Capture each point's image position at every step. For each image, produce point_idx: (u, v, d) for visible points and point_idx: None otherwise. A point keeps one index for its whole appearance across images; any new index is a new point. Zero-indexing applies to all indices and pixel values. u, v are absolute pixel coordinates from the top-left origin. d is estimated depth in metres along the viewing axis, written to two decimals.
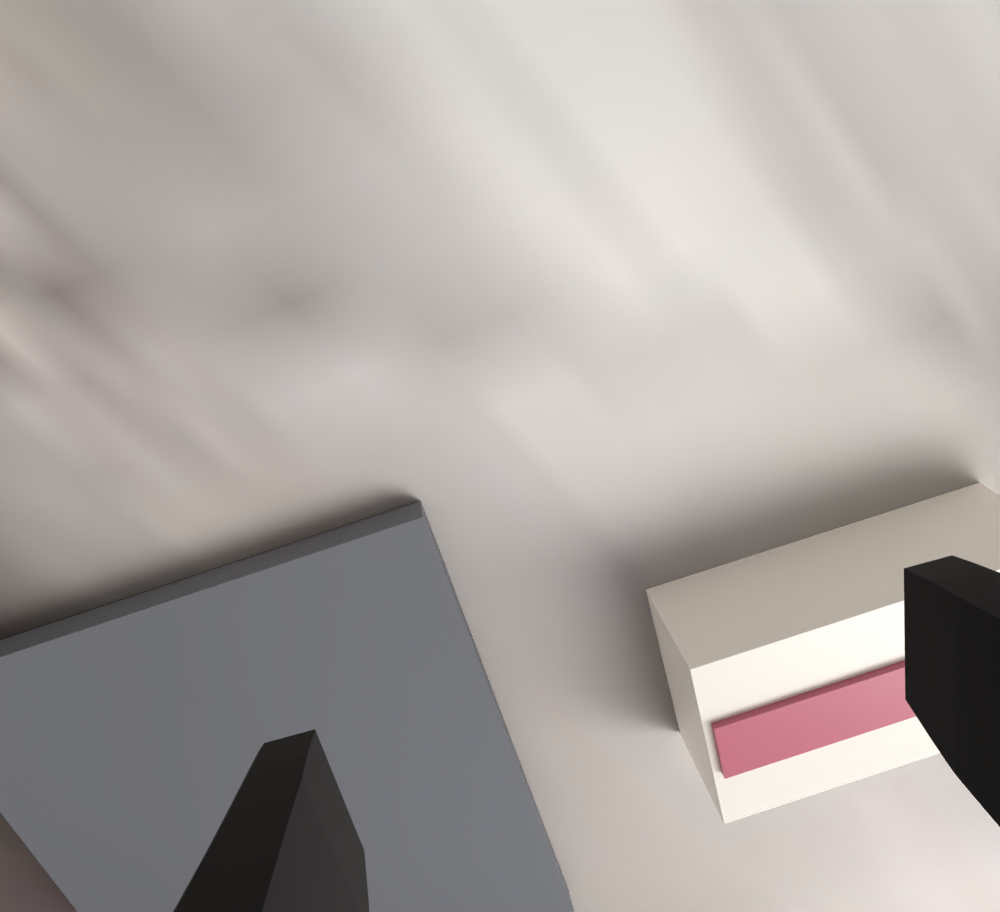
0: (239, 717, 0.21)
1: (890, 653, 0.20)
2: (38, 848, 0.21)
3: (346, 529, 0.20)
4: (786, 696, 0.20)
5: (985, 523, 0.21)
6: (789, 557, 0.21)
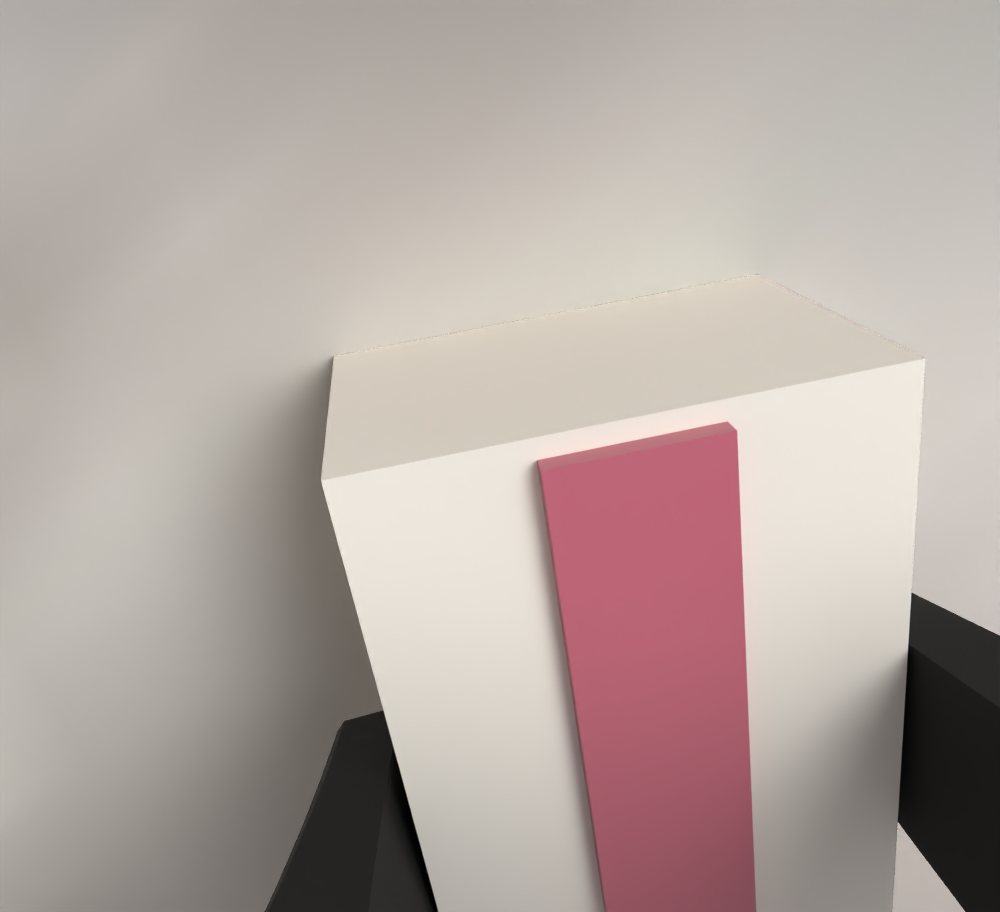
0: None
1: (558, 839, 0.09)
2: None
3: None
4: None
5: None
6: None
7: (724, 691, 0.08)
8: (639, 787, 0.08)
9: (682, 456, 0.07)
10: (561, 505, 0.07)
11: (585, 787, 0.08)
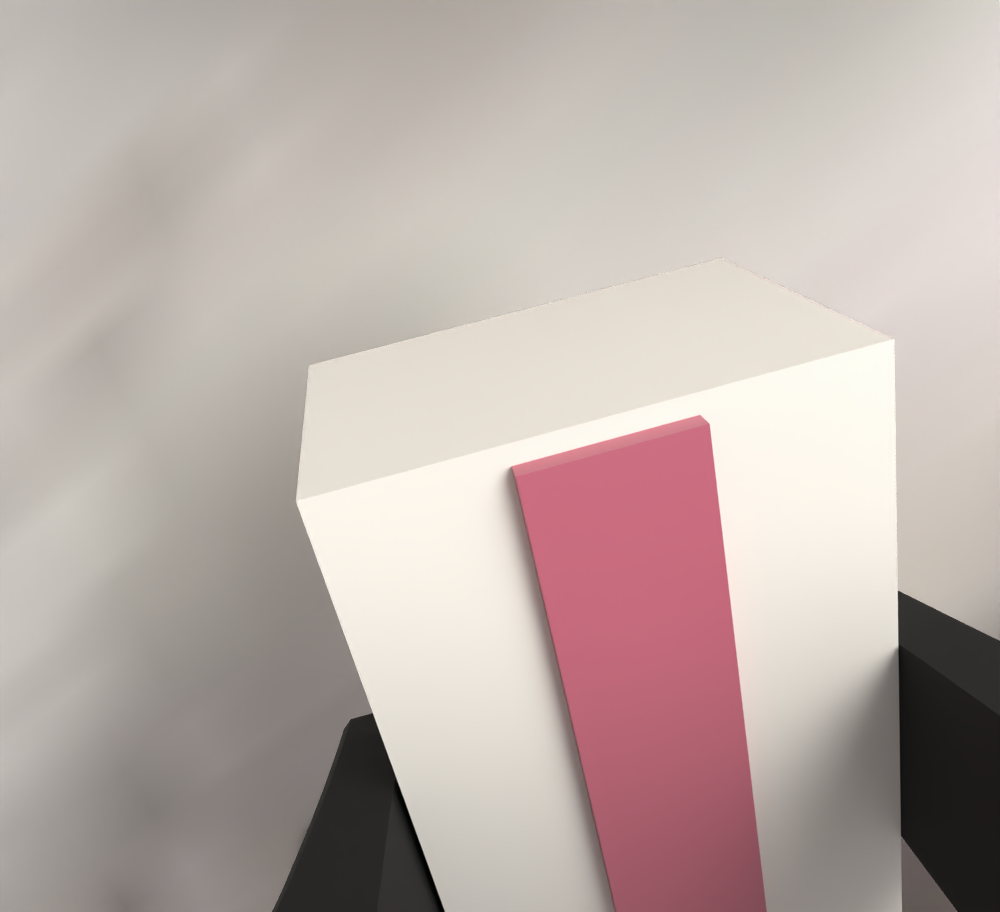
0: None
1: (563, 840, 0.09)
2: None
3: None
4: None
5: None
6: None
7: (716, 682, 0.08)
8: (639, 783, 0.08)
9: (656, 453, 0.07)
10: (539, 509, 0.07)
11: (585, 786, 0.08)
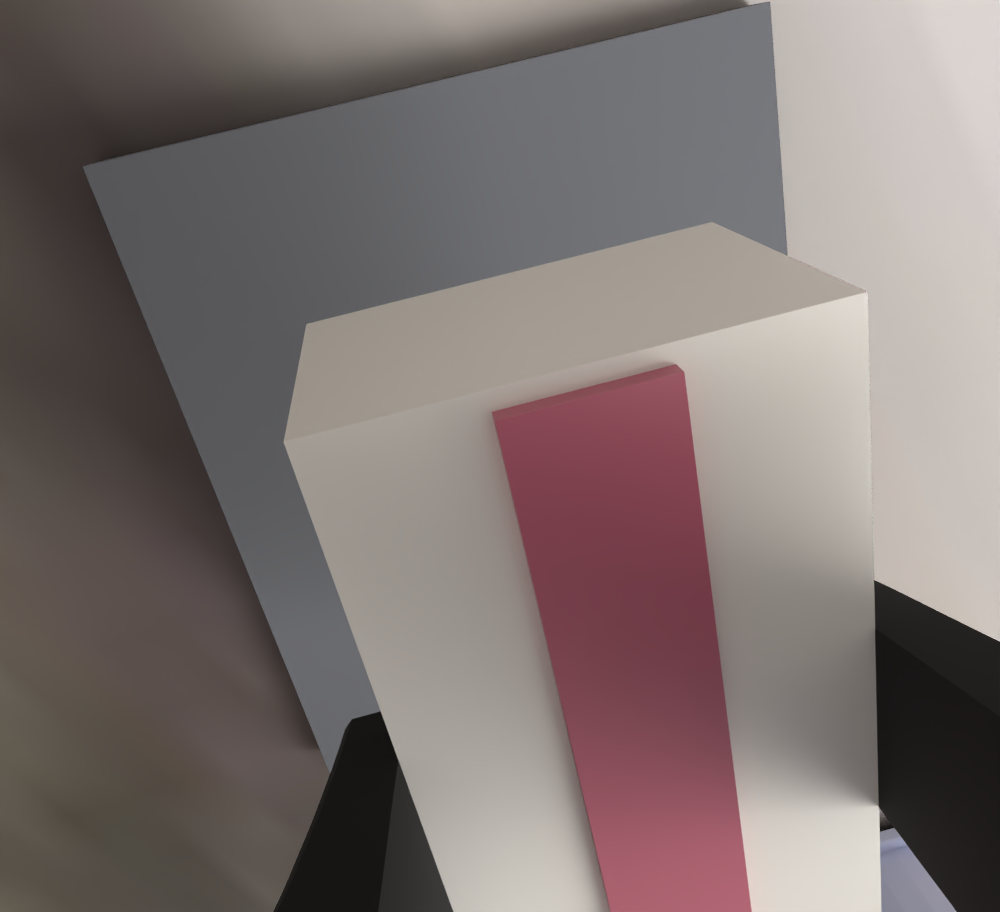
0: None
1: (545, 783, 0.09)
2: (209, 450, 0.17)
3: None
4: None
5: None
6: None
7: (693, 629, 0.08)
8: (618, 727, 0.09)
9: (632, 400, 0.07)
10: (518, 454, 0.07)
11: (566, 730, 0.09)
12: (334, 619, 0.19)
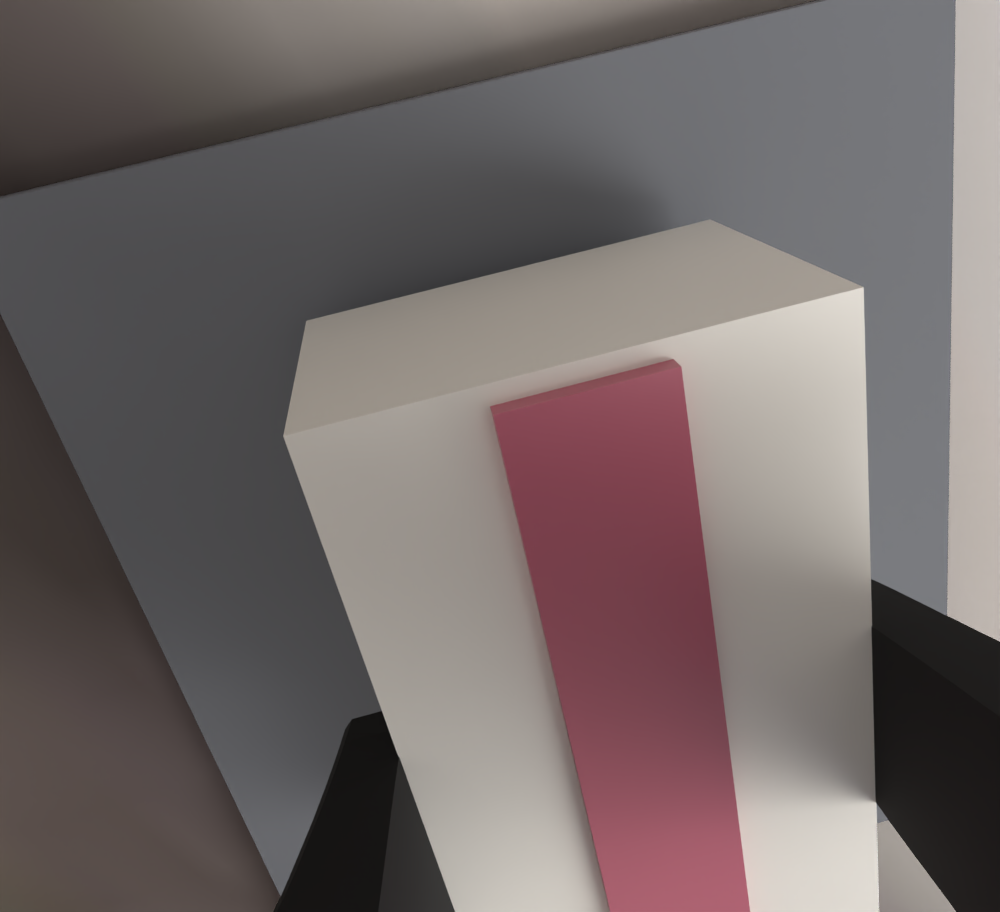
0: None
1: (543, 777, 0.09)
2: (151, 595, 0.12)
3: (791, 6, 0.11)
4: None
5: None
6: None
7: (691, 624, 0.08)
8: (616, 721, 0.09)
9: (630, 394, 0.07)
10: (516, 448, 0.07)
11: (564, 725, 0.09)
12: None
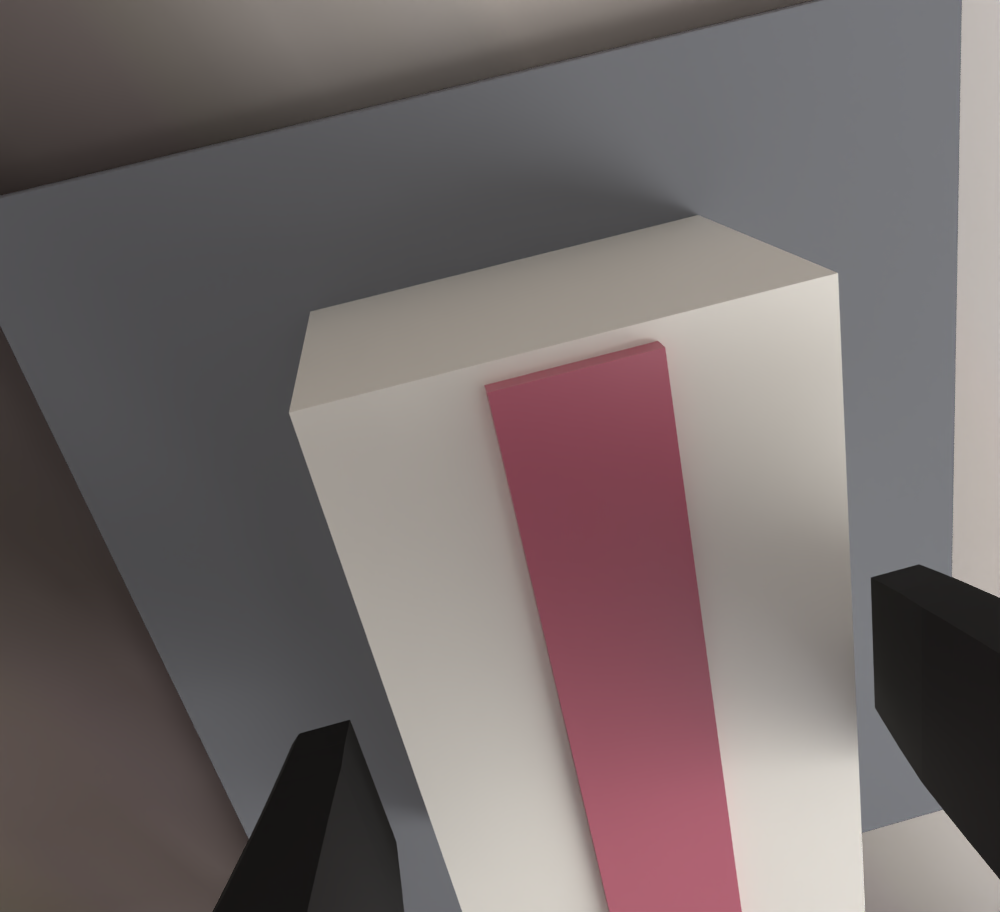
0: None
1: (537, 746, 0.09)
2: (148, 599, 0.12)
3: (796, 5, 0.11)
4: (599, 896, 0.10)
5: None
6: None
7: (677, 596, 0.09)
8: (606, 691, 0.09)
9: (616, 374, 0.07)
10: (508, 424, 0.08)
11: (557, 695, 0.09)
12: None
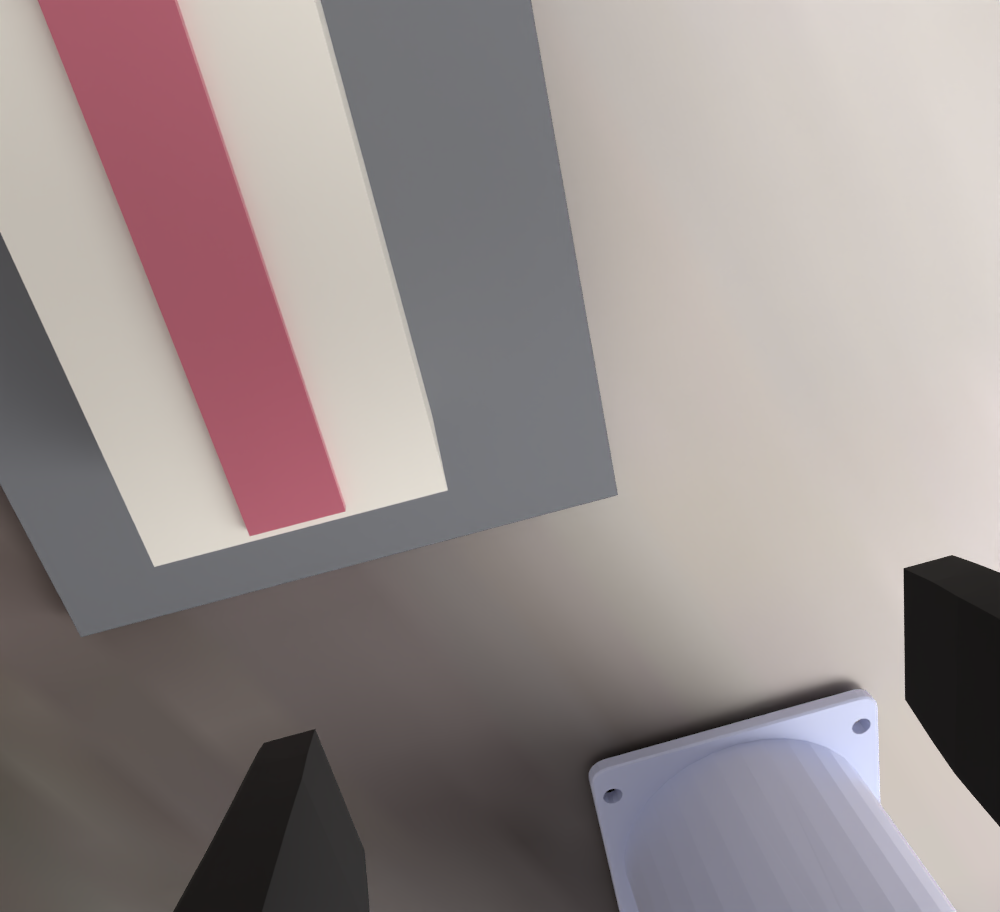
0: None
1: (125, 277, 0.12)
2: None
3: None
4: (208, 432, 0.13)
5: None
6: None
7: (201, 133, 0.11)
8: (162, 219, 0.12)
9: None
10: None
11: None
12: (60, 451, 0.17)
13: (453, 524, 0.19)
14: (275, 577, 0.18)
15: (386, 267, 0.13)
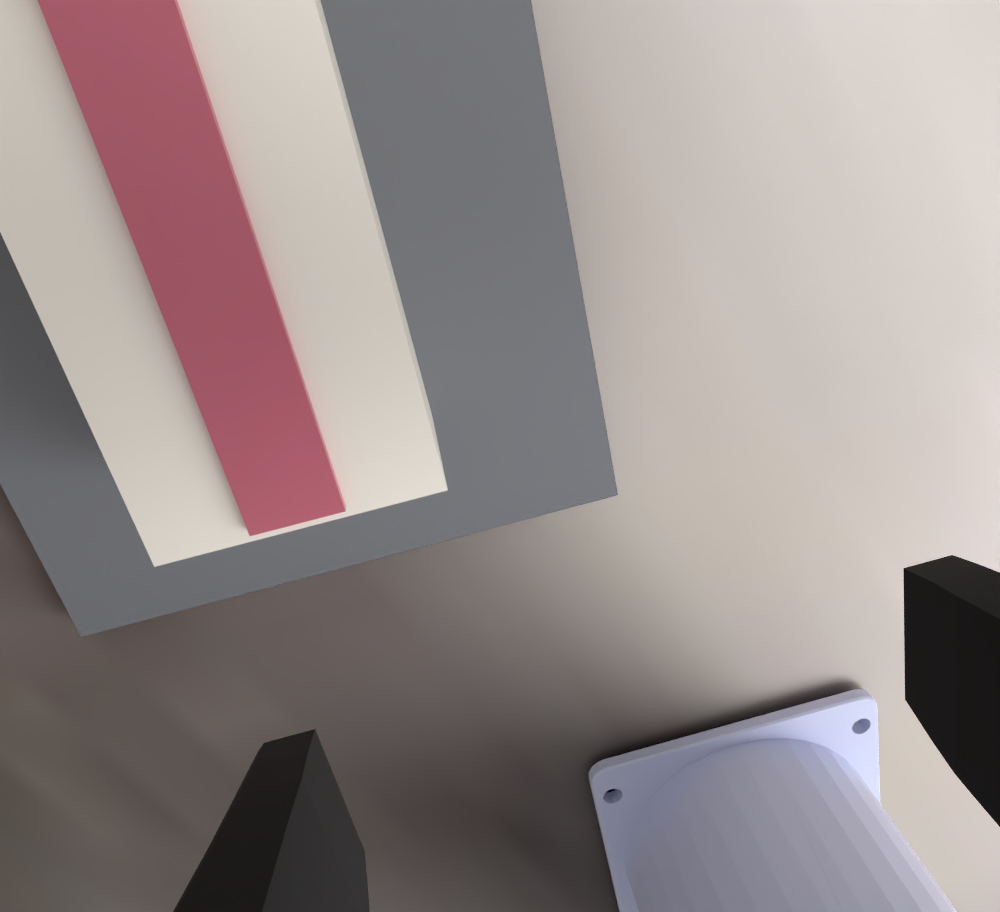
0: None
1: (125, 277, 0.12)
2: None
3: None
4: (208, 432, 0.13)
5: None
6: None
7: (201, 133, 0.11)
8: (162, 219, 0.12)
9: None
10: None
11: None
12: (60, 451, 0.17)
13: (453, 524, 0.19)
14: (275, 577, 0.18)
15: (386, 267, 0.13)
